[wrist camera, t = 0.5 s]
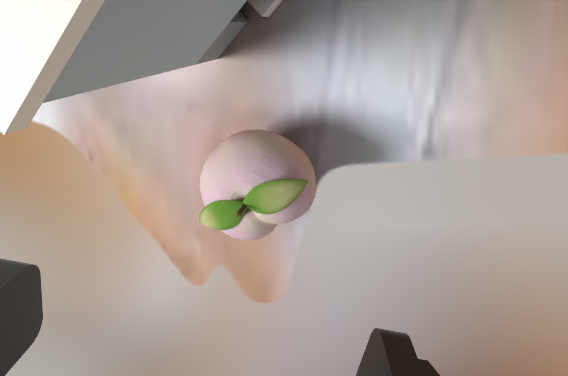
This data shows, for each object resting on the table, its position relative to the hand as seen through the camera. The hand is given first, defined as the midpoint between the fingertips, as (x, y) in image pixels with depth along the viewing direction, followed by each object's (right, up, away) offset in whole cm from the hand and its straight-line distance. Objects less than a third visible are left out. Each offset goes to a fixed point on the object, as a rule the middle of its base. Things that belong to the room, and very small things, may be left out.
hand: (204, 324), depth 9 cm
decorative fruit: (+1, +6, +26) cm, 26 cm away
